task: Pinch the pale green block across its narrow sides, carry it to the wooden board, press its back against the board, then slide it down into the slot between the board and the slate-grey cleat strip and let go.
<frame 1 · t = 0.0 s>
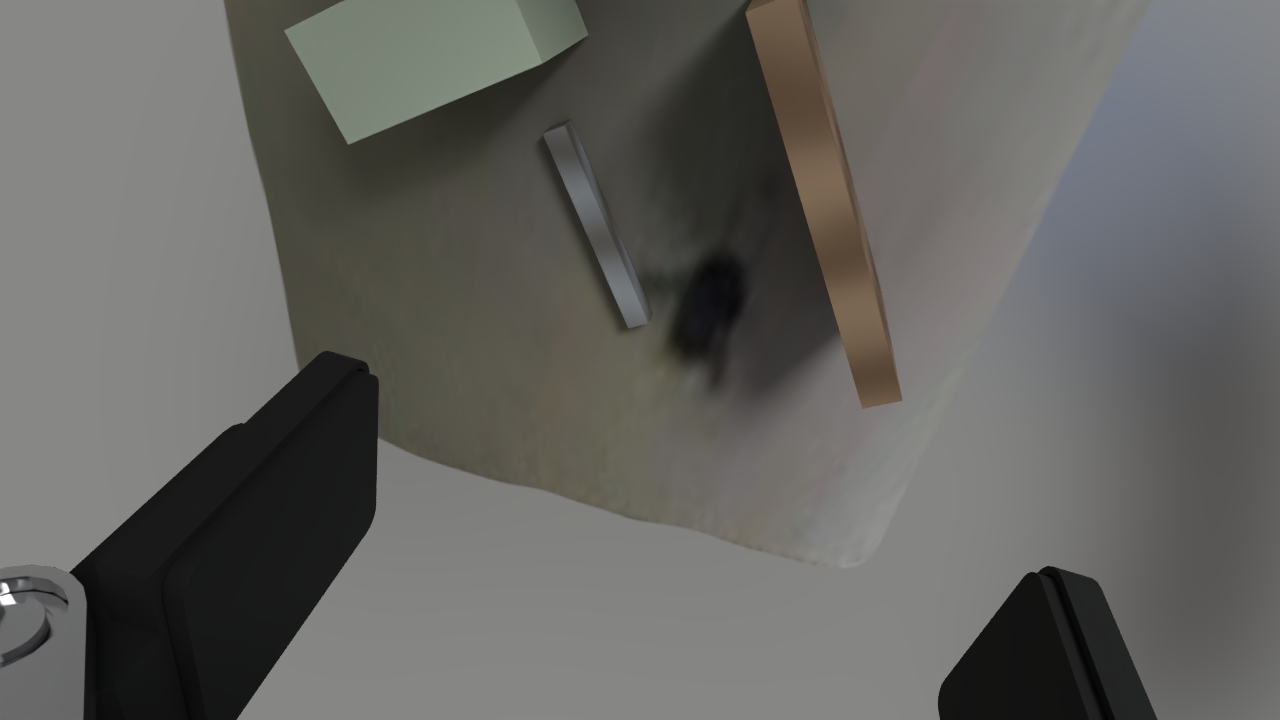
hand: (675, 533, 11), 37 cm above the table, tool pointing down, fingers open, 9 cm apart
pale green block: (478, 21, 44), on the table
wooden board: (827, 154, 44), on the table
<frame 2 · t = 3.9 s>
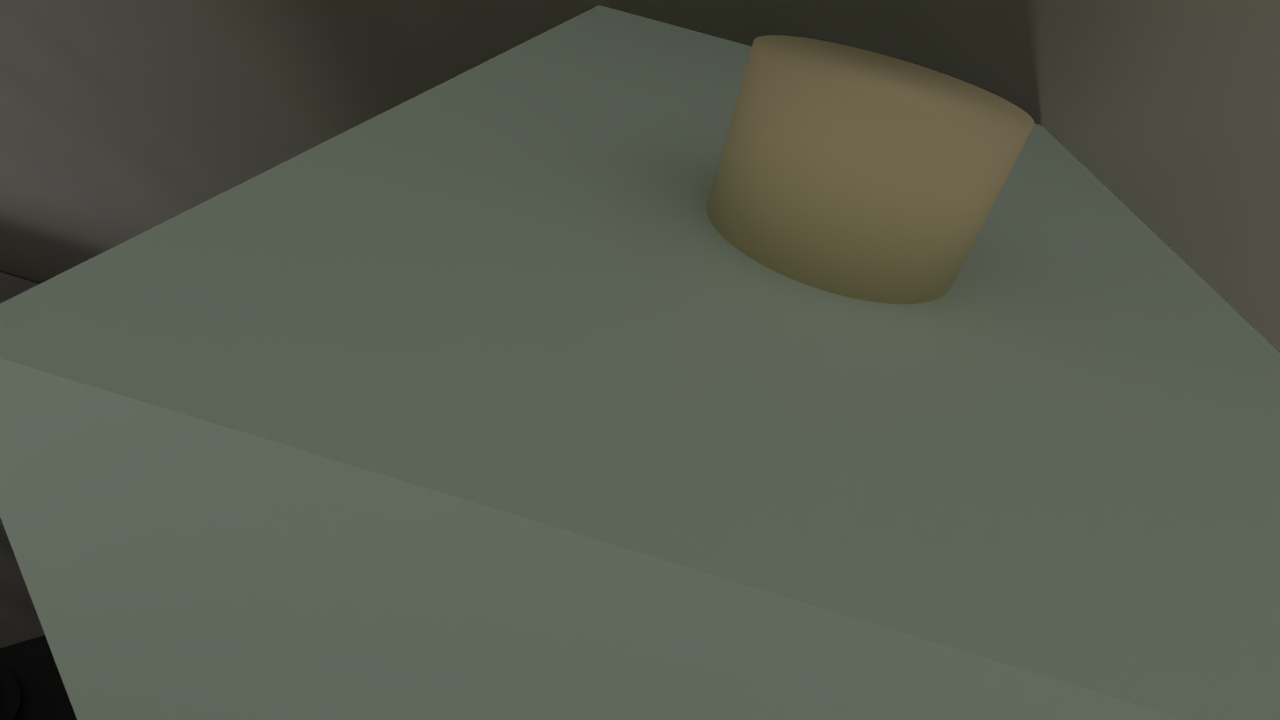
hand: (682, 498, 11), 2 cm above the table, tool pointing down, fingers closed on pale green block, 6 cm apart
pale green block: (700, 414, 13), on the table, touching gripper
wooden board: (123, 707, 23), on the table
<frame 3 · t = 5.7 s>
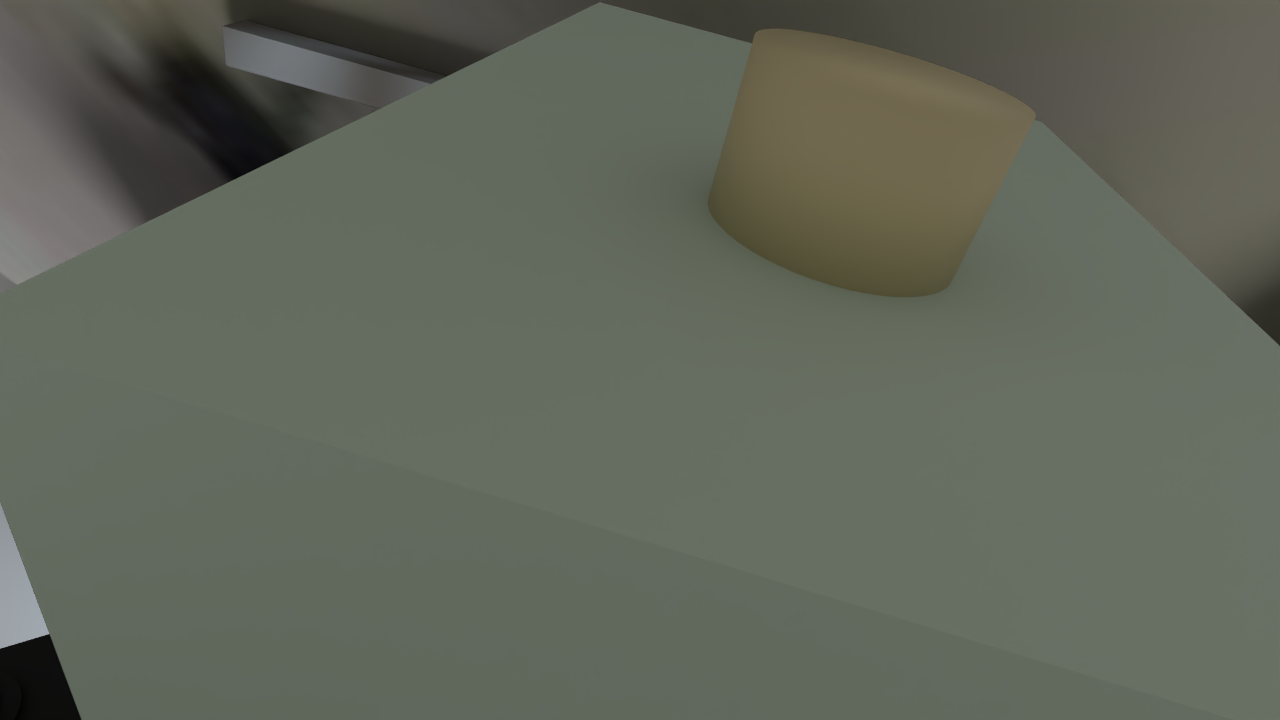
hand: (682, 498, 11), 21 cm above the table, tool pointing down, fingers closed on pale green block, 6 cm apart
pale green block: (700, 412, 13), point 19 cm above the table, touching gripper
wooden board: (398, 371, 38), on the table
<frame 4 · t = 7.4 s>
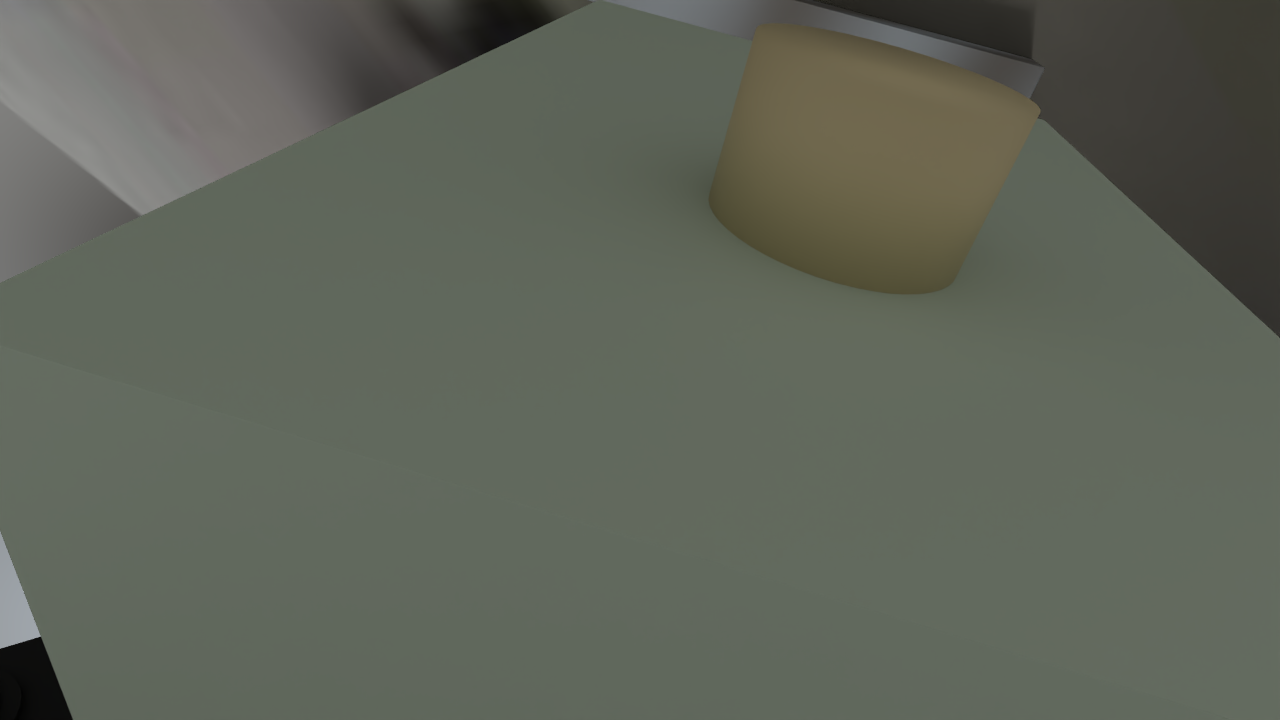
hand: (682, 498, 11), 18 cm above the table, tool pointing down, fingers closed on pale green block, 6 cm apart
pale green block: (700, 412, 13), point 16 cm above the table, touching gripper
wooden board: (691, 388, 32), on the table
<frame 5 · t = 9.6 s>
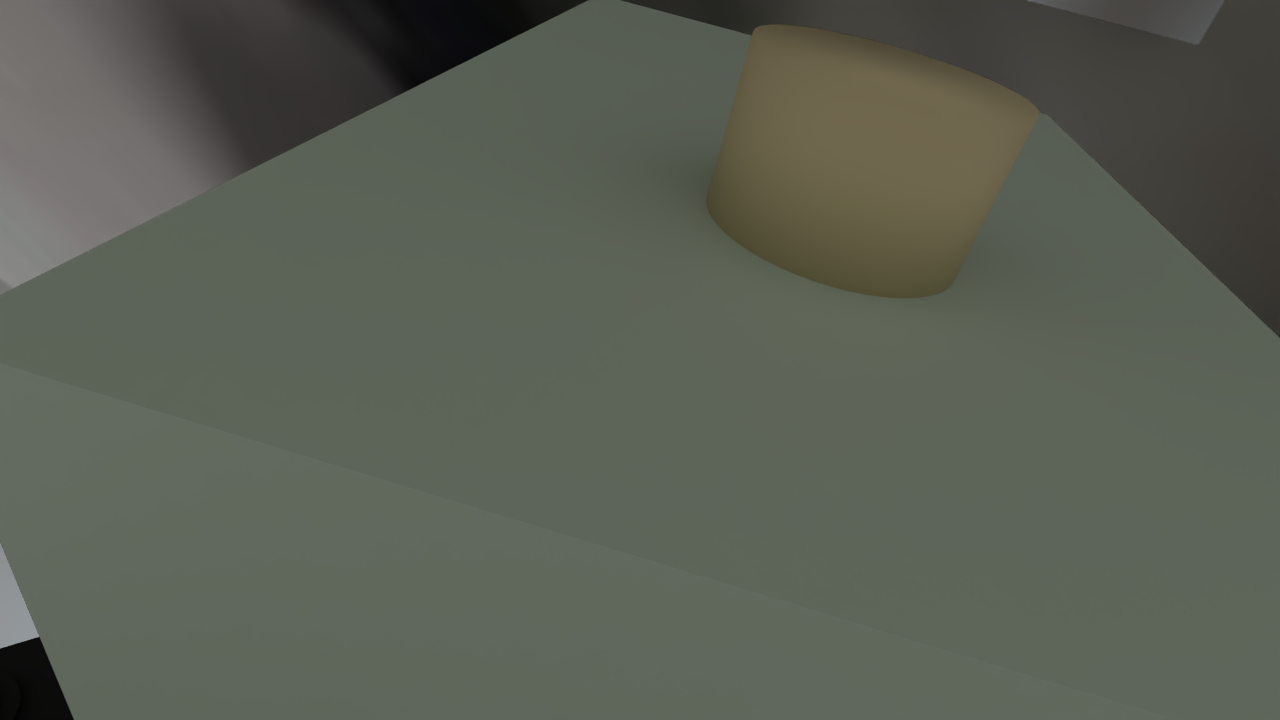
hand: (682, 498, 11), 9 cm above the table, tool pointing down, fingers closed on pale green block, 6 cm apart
pale green block: (702, 407, 13), point 7 cm above the table, touching gripper, wooden board
wooden board: (670, 450, 23), on the table
when the fingers open (3 cm above the table, at t = 11.4 s): pale green block drops 1 cm, on the table.
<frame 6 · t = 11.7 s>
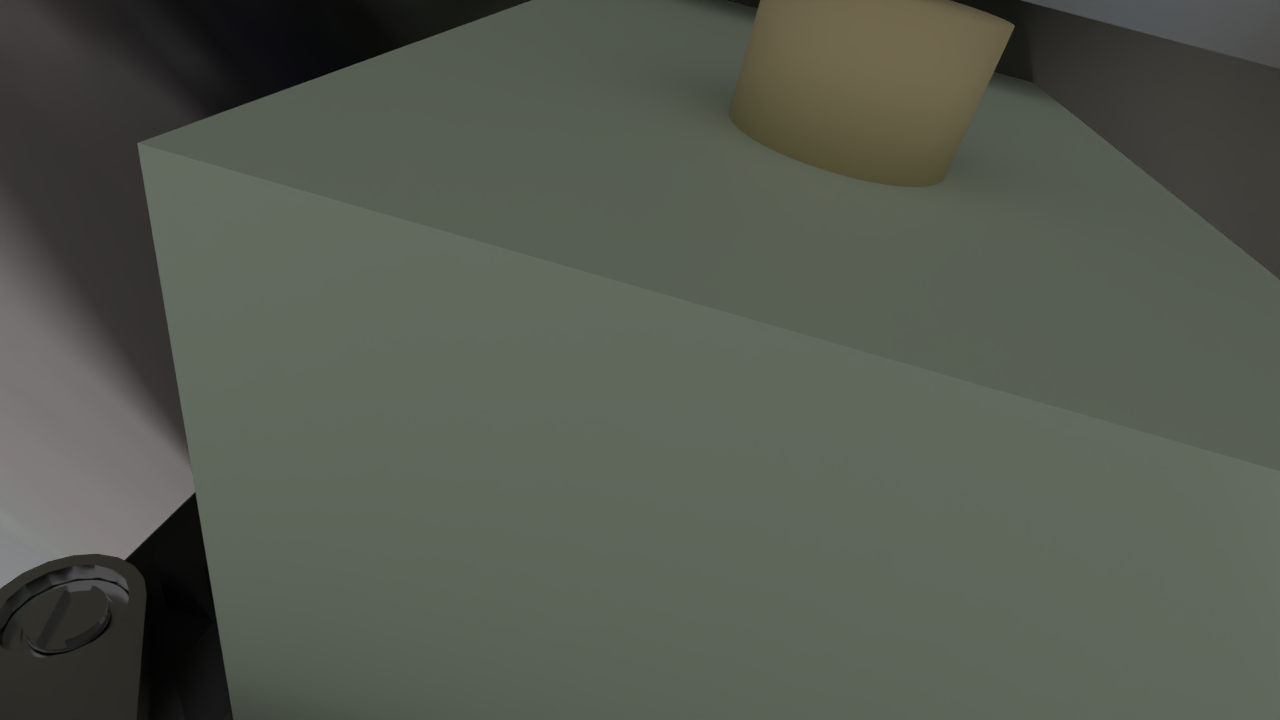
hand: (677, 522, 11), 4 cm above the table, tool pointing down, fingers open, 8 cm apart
pale green block: (708, 368, 14), on the table
wooden board: (631, 611, 17), on the table
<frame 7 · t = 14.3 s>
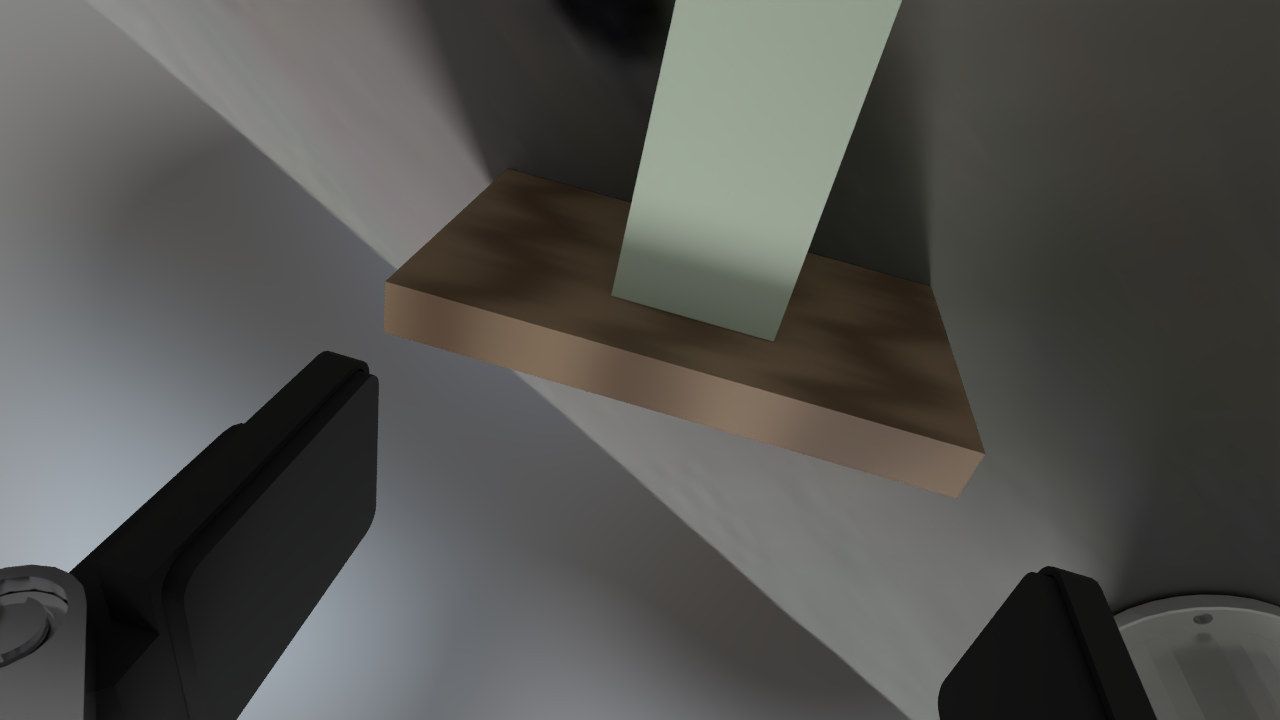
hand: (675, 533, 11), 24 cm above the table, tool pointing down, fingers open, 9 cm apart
pale green block: (755, 92, 31), on the table
wooden board: (711, 246, 34), on the table
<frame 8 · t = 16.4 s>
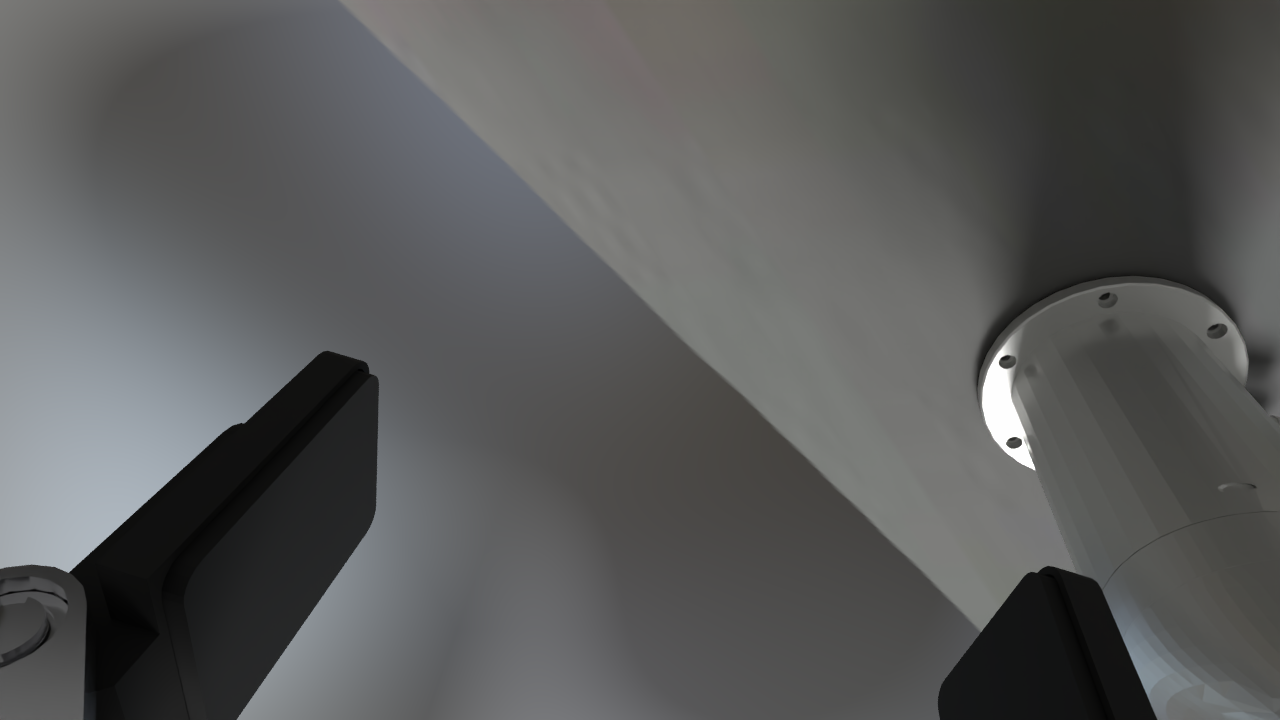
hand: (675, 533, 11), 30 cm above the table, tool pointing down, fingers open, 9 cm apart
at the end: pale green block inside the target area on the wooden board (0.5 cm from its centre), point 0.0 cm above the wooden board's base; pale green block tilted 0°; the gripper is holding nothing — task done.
